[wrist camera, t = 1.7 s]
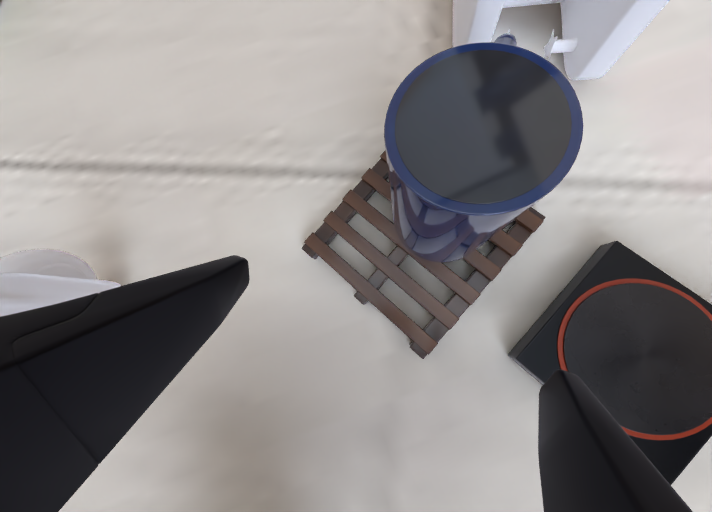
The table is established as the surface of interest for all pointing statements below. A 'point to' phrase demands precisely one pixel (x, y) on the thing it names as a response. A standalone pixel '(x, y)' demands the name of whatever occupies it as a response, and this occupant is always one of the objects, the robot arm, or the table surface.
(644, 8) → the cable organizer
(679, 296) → the hot plate
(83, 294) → the headset
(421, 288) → the rack
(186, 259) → the table surface
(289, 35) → the table surface
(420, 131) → the blue mug
